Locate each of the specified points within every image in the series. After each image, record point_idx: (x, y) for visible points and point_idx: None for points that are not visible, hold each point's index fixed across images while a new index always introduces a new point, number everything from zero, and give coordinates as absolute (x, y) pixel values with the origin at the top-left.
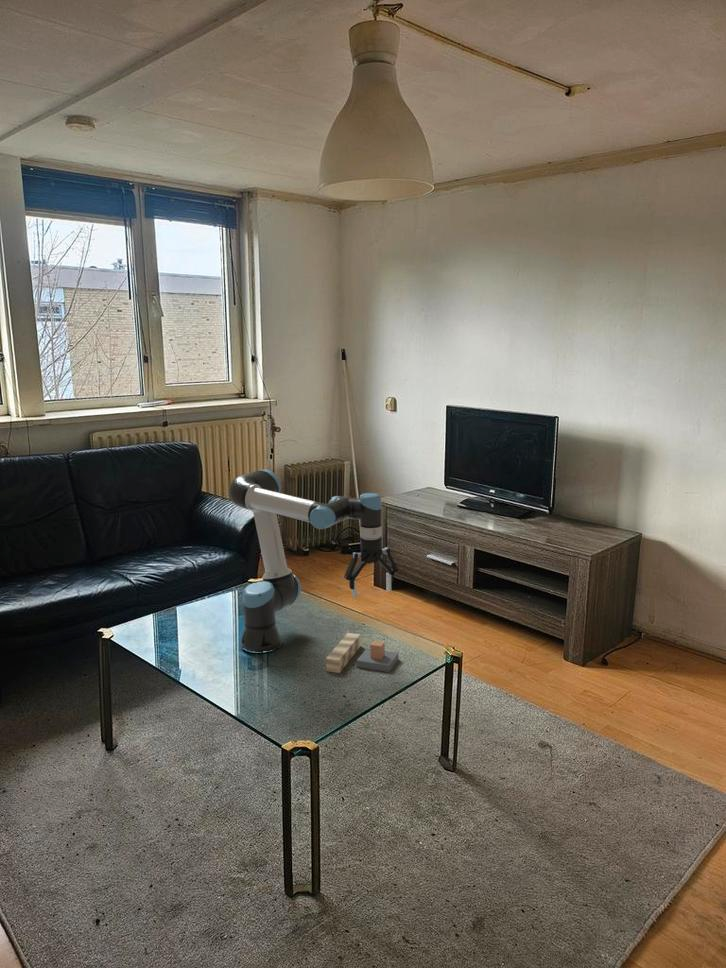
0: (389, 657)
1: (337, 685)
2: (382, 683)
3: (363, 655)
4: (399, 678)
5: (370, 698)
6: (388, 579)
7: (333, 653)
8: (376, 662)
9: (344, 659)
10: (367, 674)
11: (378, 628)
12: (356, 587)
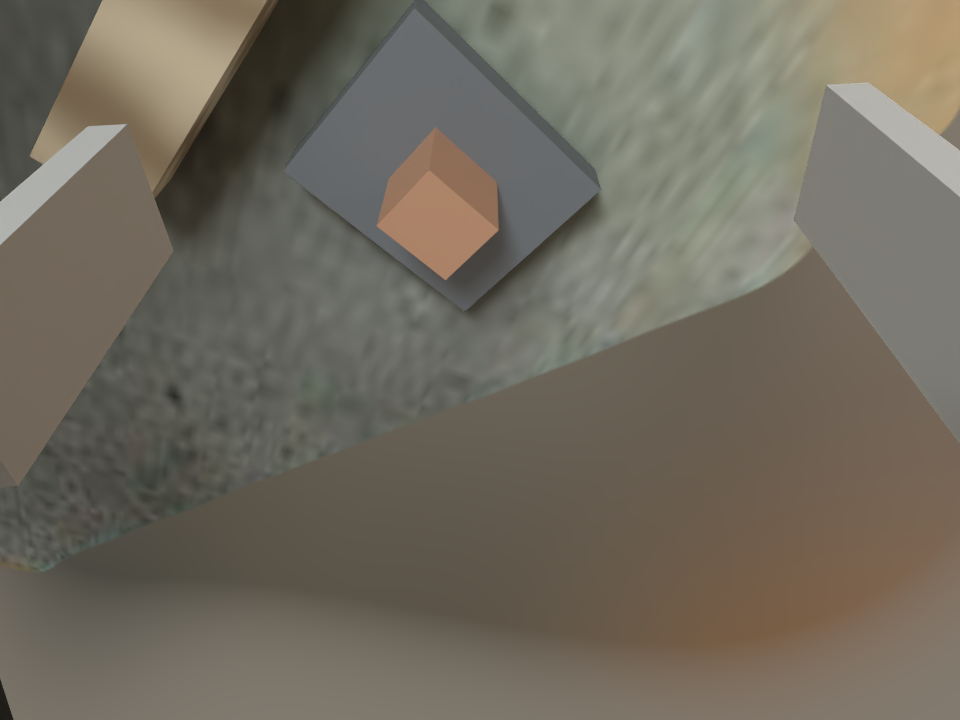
0: (513, 223)
1: (145, 299)
2: (388, 364)
3: (350, 120)
4: (491, 354)
5: (293, 447)
6: (914, 326)
7: (92, 98)
8: (405, 250)
9: (195, 128)
10: (338, 255)
11: None
12: (86, 376)
